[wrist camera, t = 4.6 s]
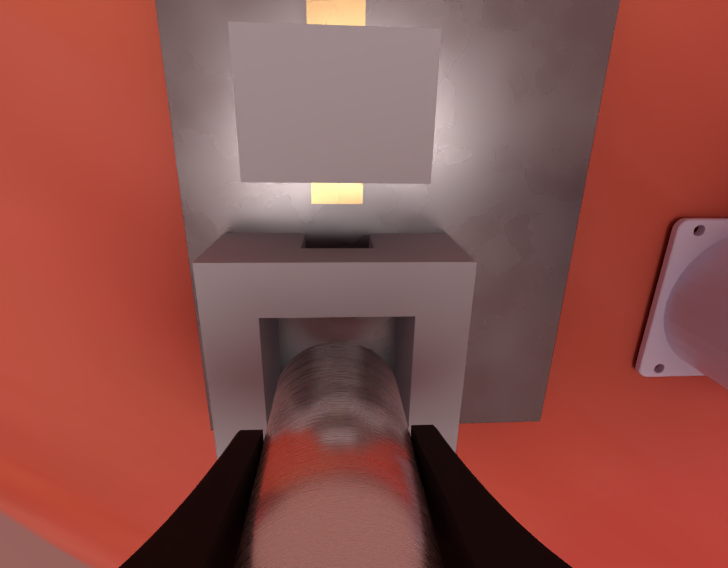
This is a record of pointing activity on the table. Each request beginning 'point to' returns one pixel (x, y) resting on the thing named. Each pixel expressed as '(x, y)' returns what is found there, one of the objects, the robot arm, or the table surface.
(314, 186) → the pin
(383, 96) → the pin guide
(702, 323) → the robot arm
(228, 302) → the socket
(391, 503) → the peg
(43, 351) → the table surface
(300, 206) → the base plate
